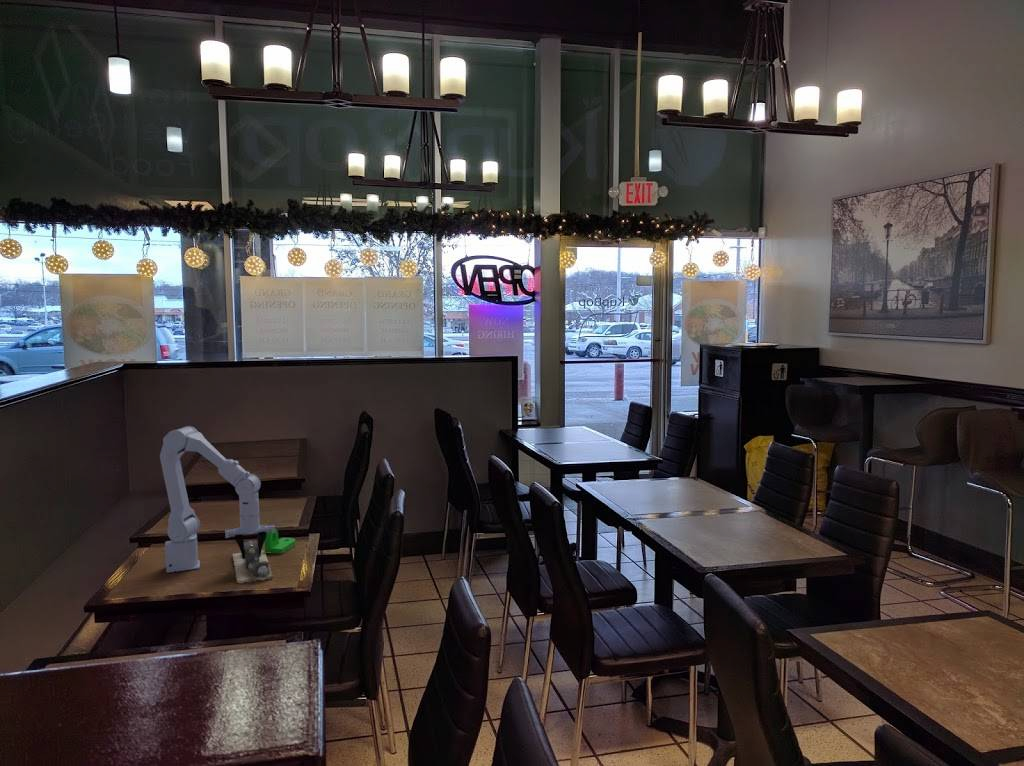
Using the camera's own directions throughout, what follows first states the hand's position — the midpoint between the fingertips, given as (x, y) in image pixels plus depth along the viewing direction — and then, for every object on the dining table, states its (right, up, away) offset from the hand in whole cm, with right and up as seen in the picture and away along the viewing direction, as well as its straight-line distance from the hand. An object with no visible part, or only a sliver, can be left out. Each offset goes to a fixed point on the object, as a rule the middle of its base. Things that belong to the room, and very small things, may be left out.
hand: (251, 557), depth 233 cm
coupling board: (0, -3, 0) cm, 3 cm away
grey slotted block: (0, -2, 0) cm, 2 cm away
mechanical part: (+4, -2, +19) cm, 20 cm away
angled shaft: (+5, -4, -8) cm, 11 cm away
